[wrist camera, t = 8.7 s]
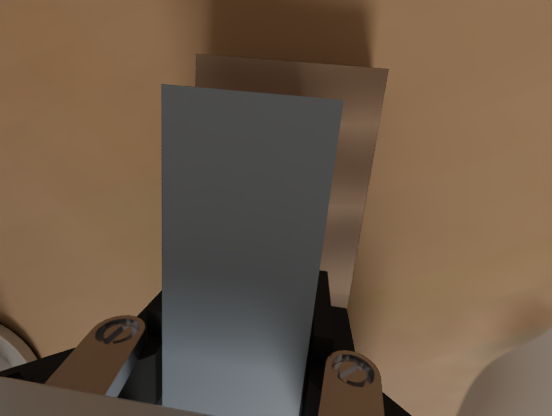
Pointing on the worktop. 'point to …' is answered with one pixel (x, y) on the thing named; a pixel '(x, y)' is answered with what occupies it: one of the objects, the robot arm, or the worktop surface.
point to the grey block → (241, 245)
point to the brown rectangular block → (351, 143)
